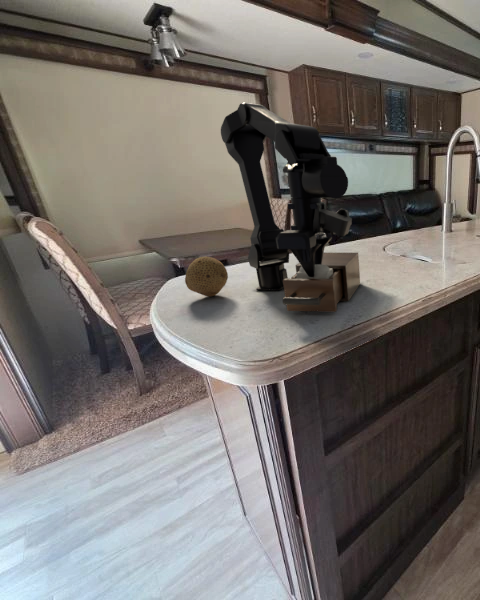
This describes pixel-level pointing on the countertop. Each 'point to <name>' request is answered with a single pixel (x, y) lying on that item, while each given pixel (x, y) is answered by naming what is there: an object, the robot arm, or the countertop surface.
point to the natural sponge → (206, 276)
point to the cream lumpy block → (316, 272)
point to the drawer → (314, 293)
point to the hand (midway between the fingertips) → (314, 274)
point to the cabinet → (350, 270)
